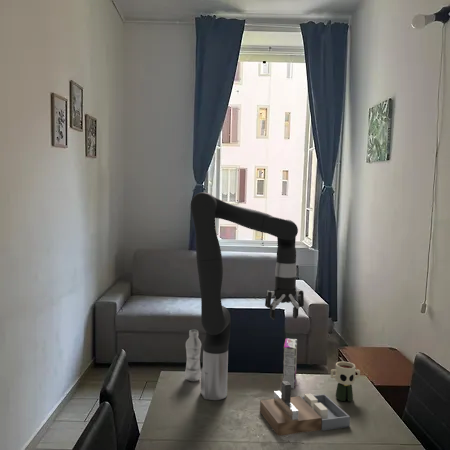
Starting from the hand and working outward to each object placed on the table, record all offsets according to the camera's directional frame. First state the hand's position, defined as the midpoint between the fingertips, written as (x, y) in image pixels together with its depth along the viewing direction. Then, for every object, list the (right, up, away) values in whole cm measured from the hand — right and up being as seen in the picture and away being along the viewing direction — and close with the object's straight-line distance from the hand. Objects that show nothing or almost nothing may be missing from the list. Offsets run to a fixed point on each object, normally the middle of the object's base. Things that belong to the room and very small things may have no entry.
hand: (283, 318), depth 167 cm
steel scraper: (-2, -27, -16) cm, 31 cm away
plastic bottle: (-34, -28, +15) cm, 47 cm away
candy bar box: (+4, -29, +15) cm, 33 cm away
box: (+12, -31, -12) cm, 35 cm away
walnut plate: (0, -31, -15) cm, 34 cm away
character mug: (+23, -30, +2) cm, 38 cm away
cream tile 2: (+9, -28, -16) cm, 34 cm away
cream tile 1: (+7, -28, -10) cm, 30 cm away
